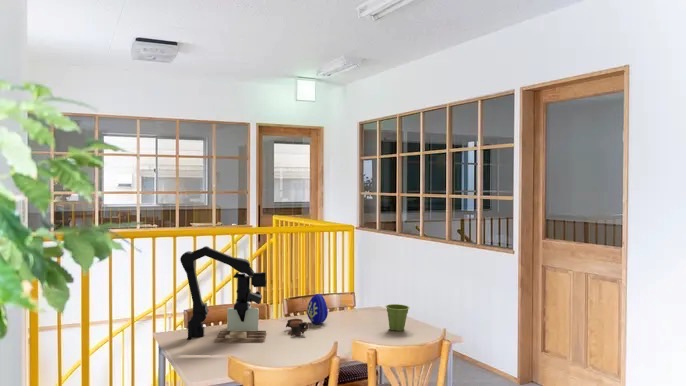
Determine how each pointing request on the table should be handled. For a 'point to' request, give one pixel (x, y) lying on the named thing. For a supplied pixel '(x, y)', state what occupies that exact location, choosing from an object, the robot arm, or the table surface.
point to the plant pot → (397, 316)
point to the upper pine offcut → (238, 333)
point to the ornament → (317, 309)
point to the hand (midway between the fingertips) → (242, 321)
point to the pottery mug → (297, 326)
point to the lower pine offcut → (233, 337)
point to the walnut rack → (251, 337)
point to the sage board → (249, 321)
